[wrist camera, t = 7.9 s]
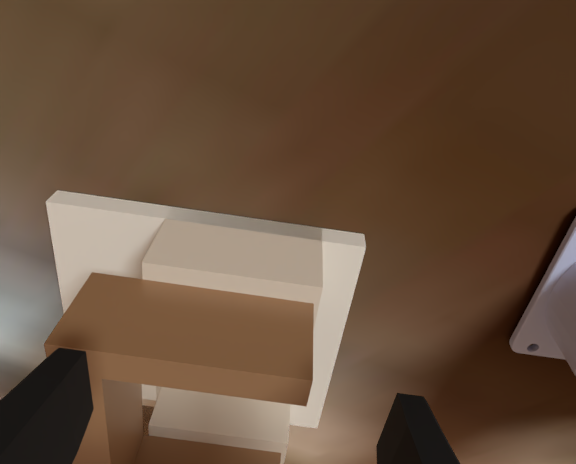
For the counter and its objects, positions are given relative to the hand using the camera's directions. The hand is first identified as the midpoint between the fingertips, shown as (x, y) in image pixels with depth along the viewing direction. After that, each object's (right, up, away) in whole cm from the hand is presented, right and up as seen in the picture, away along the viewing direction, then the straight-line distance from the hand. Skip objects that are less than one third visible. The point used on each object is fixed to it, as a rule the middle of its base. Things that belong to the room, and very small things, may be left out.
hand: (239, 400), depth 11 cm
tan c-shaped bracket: (-3, -2, +9) cm, 9 cm away
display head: (-3, 0, +12) cm, 12 cm away
